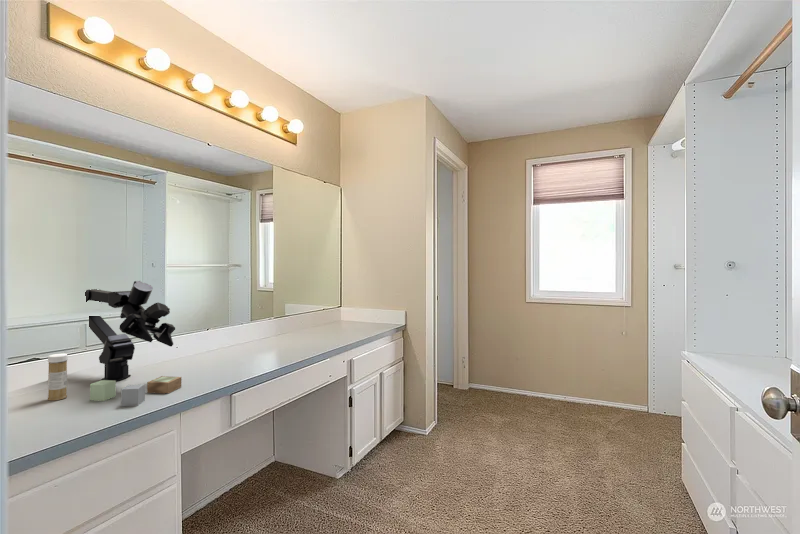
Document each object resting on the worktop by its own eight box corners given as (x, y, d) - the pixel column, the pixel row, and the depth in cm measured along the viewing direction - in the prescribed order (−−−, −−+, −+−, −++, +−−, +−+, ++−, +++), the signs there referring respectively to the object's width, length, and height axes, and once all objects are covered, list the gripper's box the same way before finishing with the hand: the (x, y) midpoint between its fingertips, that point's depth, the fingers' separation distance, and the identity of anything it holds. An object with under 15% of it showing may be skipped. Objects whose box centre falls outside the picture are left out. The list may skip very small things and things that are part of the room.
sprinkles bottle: (54, 396, 126) (55, 353, 125) (70, 396, 126) (71, 352, 126) (43, 401, 121) (43, 356, 121) (59, 401, 121) (60, 356, 121)
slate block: (121, 406, 118) (121, 389, 118) (128, 401, 123) (128, 384, 122) (138, 405, 119) (138, 388, 119) (144, 400, 123) (144, 384, 123)
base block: (147, 392, 130) (147, 381, 130) (161, 386, 137) (161, 375, 137) (168, 393, 130) (168, 382, 130) (181, 387, 137) (181, 376, 137)
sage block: (90, 400, 122) (90, 384, 122) (102, 395, 127) (102, 380, 127) (104, 401, 122) (104, 384, 122) (115, 396, 127) (115, 380, 127)
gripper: (132, 289, 133) (158, 318, 127) (173, 303, 150) (197, 329, 144) (107, 316, 131) (132, 346, 125) (151, 327, 148) (175, 354, 143)
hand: (162, 343), depth 134 cm, fingers open, 9 cm apart
